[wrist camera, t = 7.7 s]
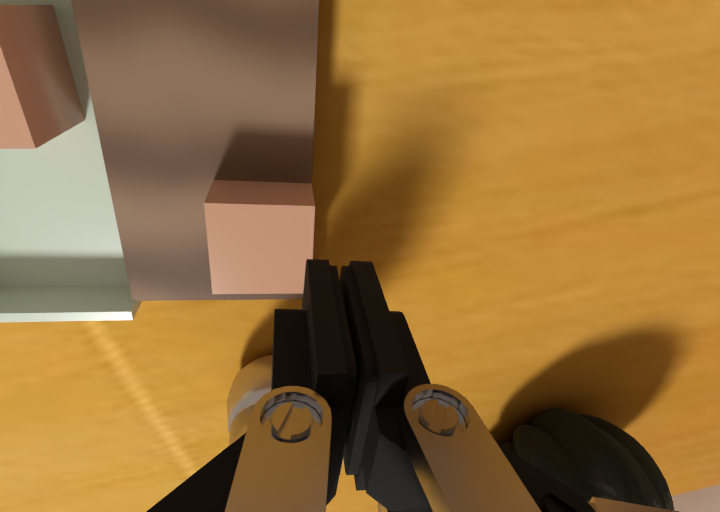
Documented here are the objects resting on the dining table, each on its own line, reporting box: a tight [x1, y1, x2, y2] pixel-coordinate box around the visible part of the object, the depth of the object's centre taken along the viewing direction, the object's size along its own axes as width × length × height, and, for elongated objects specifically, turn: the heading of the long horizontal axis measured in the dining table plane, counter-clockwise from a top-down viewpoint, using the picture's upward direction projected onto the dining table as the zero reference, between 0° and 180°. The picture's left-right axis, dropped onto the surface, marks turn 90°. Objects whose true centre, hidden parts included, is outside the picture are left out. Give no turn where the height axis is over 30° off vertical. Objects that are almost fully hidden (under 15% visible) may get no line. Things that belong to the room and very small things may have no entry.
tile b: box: [204, 180, 315, 294], centre depth 22 cm, size 5×5×3 cm
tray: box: [0, 0, 142, 322], centre depth 21 cm, size 18×9×3 cm, turn 175°
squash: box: [501, 409, 674, 511], centre depth 37 cm, size 14×15×15 cm
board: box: [71, 0, 319, 301], centre depth 22 cm, size 18×10×2 cm, turn 175°
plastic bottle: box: [227, 355, 272, 446], centre depth 24 cm, size 6×7×20 cm
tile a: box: [0, 3, 85, 149], centre depth 18 cm, size 5×5×3 cm
